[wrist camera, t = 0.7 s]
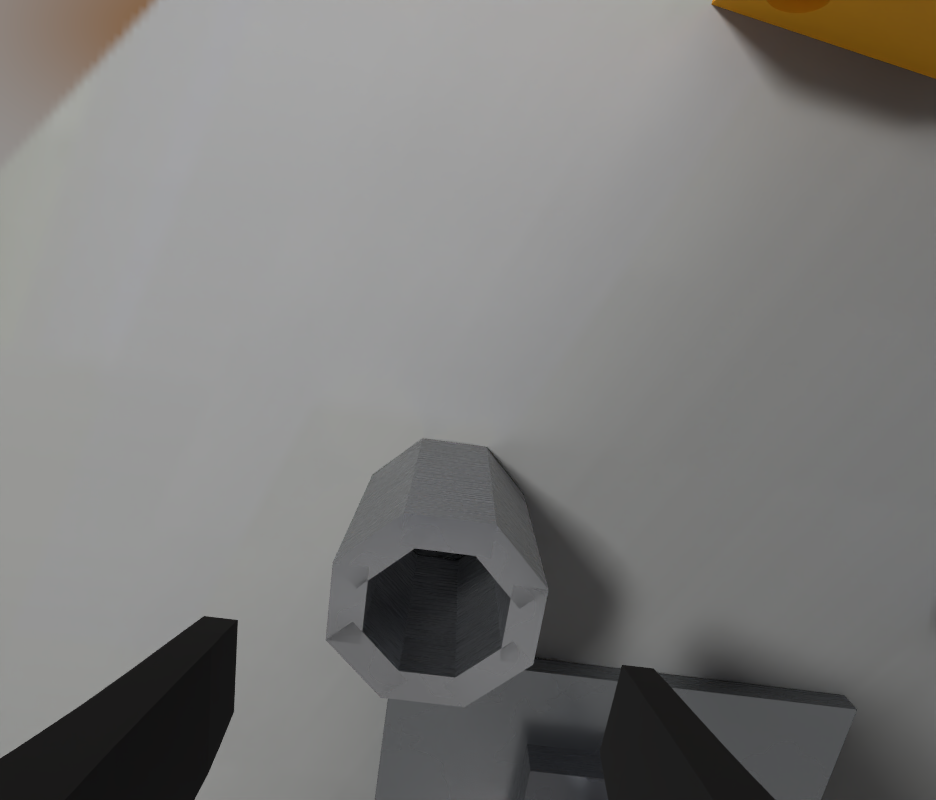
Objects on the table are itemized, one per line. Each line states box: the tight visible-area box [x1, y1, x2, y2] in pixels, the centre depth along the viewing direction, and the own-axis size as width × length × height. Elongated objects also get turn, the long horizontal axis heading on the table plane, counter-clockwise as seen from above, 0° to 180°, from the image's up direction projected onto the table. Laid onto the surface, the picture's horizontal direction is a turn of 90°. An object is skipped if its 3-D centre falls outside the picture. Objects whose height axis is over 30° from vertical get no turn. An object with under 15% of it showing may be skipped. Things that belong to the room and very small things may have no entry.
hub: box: [326, 439, 549, 707], centre depth 14 cm, size 5×5×5 cm
